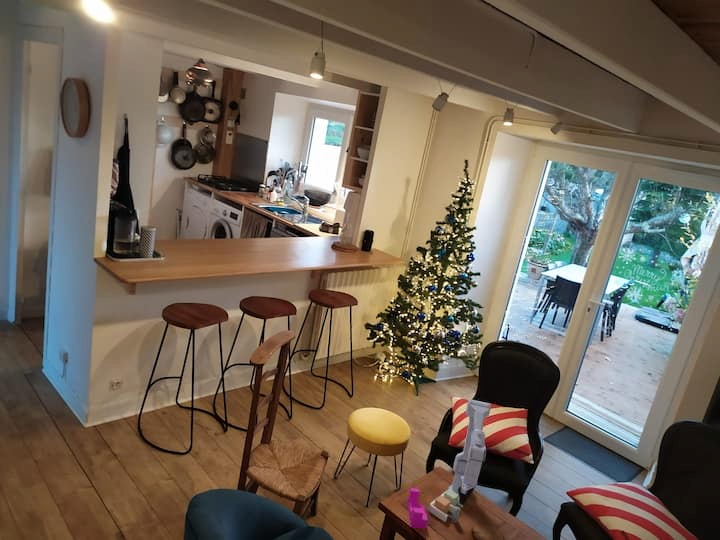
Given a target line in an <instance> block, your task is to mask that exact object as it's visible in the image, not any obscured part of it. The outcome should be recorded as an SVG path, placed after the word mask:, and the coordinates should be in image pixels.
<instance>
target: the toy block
mask: <svg viewBox="0 0 720 540" xmlns="http://www.w3.org/2000/svg"><path fill="white" fill-rule="evenodd" d="M419 497H420V489H419V488H415V487H414V488H412V487H410V489H409V492H408V497H407V502H406V504H407V510H408V517H409V524H410V528H413V529H414V528H416V529H422V530H426V528H427V525H428V522H429V521H428V515H427V513H426V511H425V510H426V509H425V505H424V504H419Z"/></svg>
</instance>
